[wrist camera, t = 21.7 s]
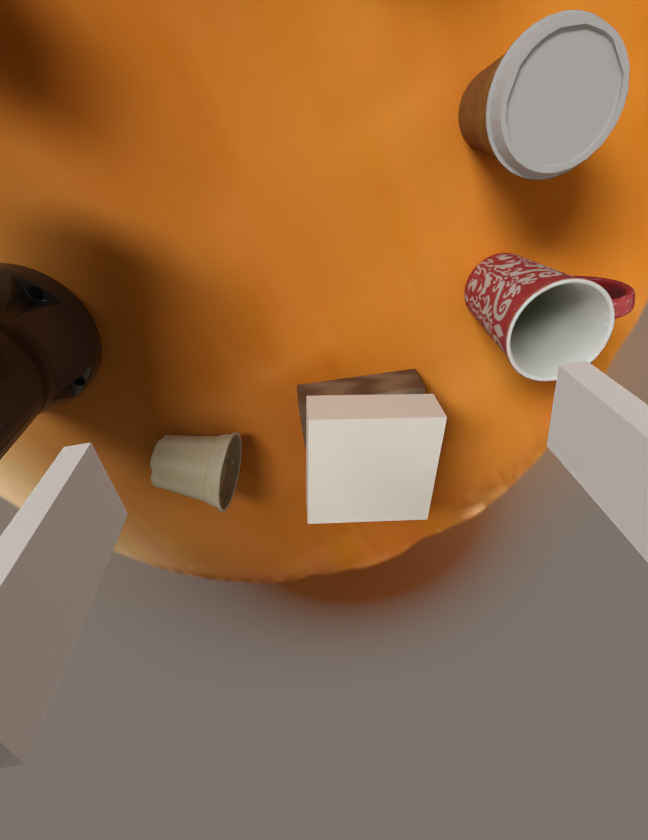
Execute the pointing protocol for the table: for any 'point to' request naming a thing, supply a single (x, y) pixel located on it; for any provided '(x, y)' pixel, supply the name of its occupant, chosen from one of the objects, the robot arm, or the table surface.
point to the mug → (544, 312)
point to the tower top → (371, 456)
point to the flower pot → (198, 466)
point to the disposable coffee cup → (549, 96)
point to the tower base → (361, 388)
